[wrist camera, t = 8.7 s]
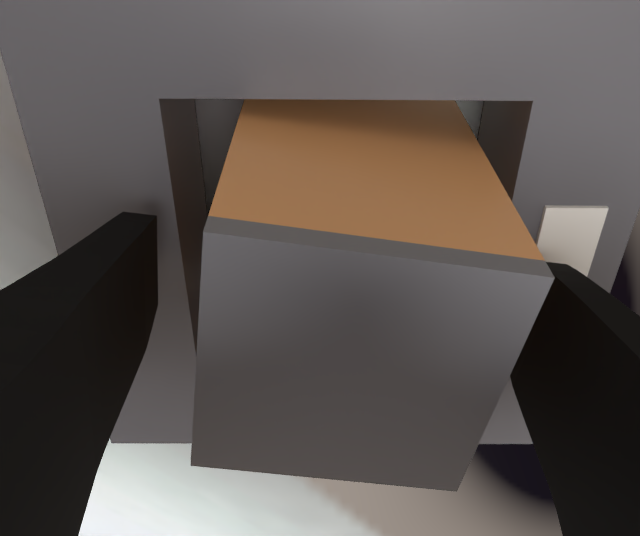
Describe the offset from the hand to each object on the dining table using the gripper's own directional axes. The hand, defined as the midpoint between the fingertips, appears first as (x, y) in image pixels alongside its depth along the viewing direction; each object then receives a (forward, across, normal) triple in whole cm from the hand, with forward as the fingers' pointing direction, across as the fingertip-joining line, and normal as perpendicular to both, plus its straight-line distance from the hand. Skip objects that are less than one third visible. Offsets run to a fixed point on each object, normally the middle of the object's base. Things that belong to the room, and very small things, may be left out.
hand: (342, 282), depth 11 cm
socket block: (+4, 0, 0) cm, 4 cm away
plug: (+4, 0, 0) cm, 4 cm away
